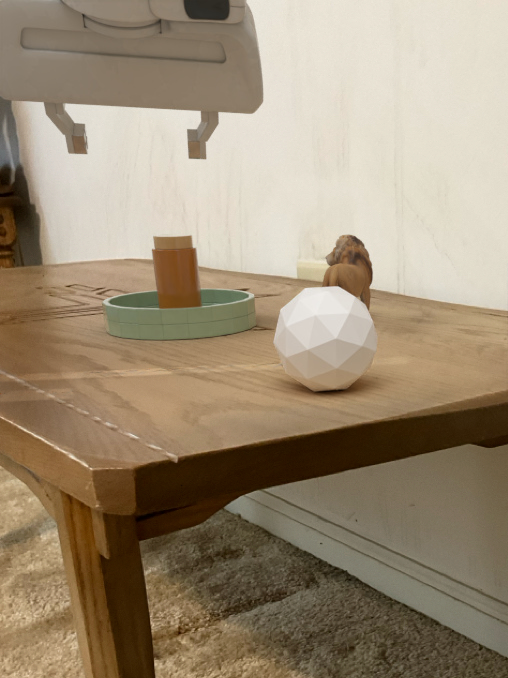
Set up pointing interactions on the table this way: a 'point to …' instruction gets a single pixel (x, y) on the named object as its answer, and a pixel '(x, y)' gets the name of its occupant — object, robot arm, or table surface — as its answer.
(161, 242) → the spice jar
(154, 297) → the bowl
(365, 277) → the lion figurine
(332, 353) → the geometric ball
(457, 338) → the table surface
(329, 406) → the table surface
